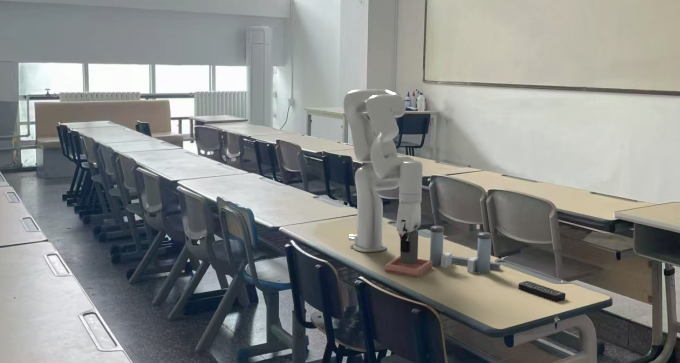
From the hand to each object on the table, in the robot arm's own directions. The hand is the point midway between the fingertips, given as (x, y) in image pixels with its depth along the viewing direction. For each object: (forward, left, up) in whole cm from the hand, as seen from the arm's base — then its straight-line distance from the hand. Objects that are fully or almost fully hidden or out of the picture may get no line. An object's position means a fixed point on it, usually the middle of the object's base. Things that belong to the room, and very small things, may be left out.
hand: (408, 249), depth 231 cm
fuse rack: (+14, +13, -7) cm, 20 cm away
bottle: (0, 0, -5) cm, 5 cm away
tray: (0, 0, -7) cm, 7 cm away
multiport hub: (+45, -2, -8) cm, 46 cm away
